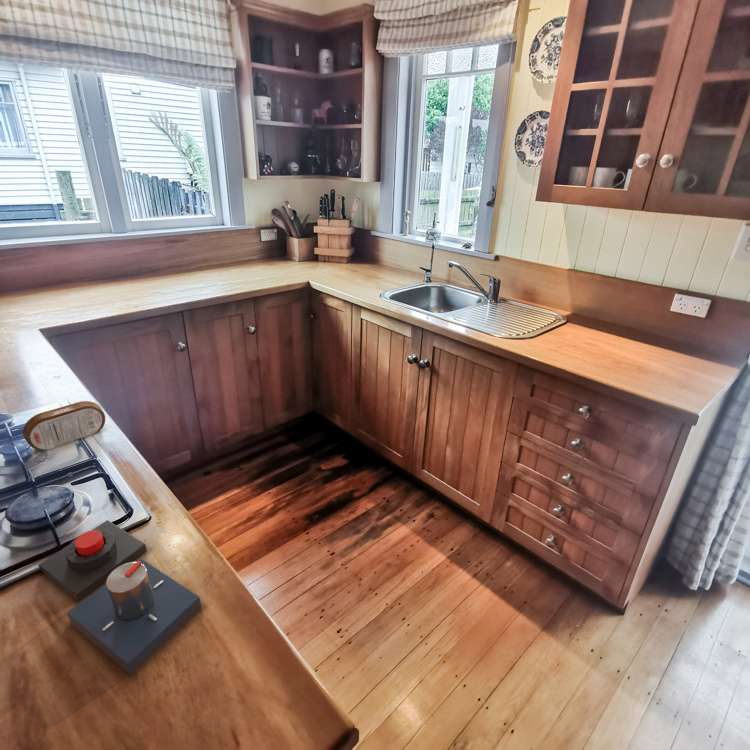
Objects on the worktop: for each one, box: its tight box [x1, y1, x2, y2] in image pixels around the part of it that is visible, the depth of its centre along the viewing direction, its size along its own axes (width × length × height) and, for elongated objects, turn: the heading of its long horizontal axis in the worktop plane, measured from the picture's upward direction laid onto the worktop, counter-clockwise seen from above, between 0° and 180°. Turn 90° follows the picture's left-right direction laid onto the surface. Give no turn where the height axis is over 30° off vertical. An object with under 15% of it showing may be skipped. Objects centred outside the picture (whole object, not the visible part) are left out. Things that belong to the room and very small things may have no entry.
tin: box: [22, 400, 106, 452], centre depth 100 cm, size 15×3×8 cm, turn 135°
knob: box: [105, 560, 154, 620], centre depth 62 cm, size 5×5×6 cm
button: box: [75, 529, 104, 556], centre depth 71 cm, size 4×4×2 cm
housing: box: [38, 520, 148, 603], centre depth 72 cm, size 10×11×4 cm
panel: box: [66, 557, 202, 676], centre depth 64 cm, size 13×11×3 cm
